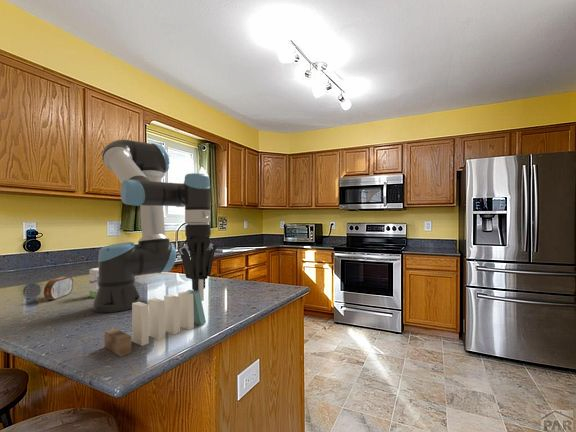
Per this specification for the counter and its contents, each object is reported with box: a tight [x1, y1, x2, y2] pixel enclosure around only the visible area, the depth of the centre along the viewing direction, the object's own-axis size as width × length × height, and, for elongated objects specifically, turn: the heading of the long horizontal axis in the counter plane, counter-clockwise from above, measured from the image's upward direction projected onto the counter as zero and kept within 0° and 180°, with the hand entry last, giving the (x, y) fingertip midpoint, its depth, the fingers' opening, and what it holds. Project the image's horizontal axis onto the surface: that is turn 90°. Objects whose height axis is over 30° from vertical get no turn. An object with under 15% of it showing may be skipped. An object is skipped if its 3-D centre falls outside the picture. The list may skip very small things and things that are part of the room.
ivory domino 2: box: [148, 297, 166, 341], centre depth 81 cm, size 2×5×10 cm, turn 52°
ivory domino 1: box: [131, 301, 150, 347], centre depth 78 cm, size 2×5×10 cm, turn 52°
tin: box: [43, 275, 74, 301], centre depth 127 cm, size 15×3×8 cm, turn 5°
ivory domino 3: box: [163, 294, 181, 335], centre depth 85 cm, size 2×5×10 cm, turn 52°
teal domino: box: [185, 289, 207, 326], centre depth 91 cm, size 2×5×10 cm, turn 53°
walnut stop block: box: [104, 328, 132, 358], centre depth 73 cm, size 9×2×4 cm, turn 52°
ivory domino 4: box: [177, 291, 195, 330], centre depth 89 cm, size 2×5×10 cm, turn 52°
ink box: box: [88, 267, 99, 299], centre depth 129 cm, size 9×5×12 cm, turn 149°
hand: (198, 300), depth 92 cm, fingers closed
